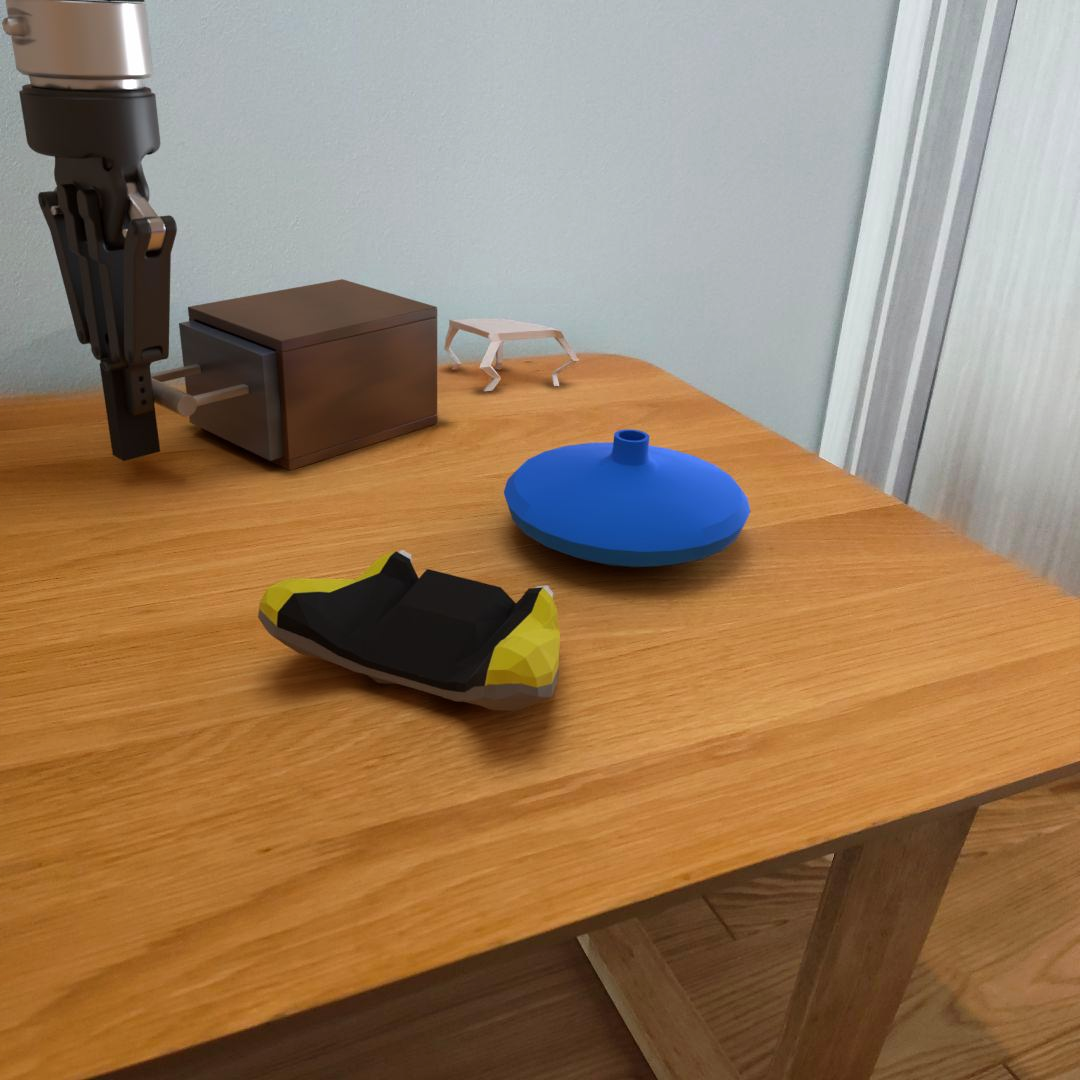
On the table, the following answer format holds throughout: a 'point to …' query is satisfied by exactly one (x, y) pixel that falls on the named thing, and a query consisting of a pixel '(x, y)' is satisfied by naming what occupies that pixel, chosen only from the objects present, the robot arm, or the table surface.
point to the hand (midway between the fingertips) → (136, 452)
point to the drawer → (226, 388)
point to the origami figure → (501, 332)
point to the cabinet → (339, 363)
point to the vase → (626, 503)
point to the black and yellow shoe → (424, 632)
